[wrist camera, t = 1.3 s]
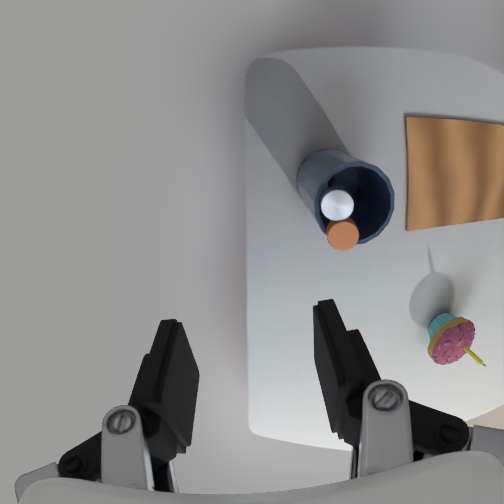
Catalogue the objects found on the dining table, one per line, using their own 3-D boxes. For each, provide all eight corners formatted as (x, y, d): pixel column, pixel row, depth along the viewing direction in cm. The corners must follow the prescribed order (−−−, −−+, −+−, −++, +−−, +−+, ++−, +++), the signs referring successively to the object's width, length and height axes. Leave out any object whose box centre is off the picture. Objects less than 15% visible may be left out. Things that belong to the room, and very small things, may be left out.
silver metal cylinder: (317, 182, 32) (321, 221, 23) (316, 159, 30) (319, 190, 22) (341, 181, 31) (354, 220, 23) (340, 157, 30) (353, 189, 22)
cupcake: (456, 293, 39) (497, 340, 28) (461, 326, 42) (496, 371, 31) (413, 323, 41) (448, 377, 30) (423, 352, 44) (452, 402, 33)
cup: (283, 186, 32) (296, 212, 24) (324, 135, 30) (353, 143, 22) (331, 224, 34) (356, 259, 26) (371, 177, 32) (408, 199, 24)
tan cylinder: (319, 207, 33) (327, 252, 24) (318, 185, 32) (326, 222, 23) (342, 205, 32) (358, 250, 24) (341, 183, 31) (359, 220, 23)
